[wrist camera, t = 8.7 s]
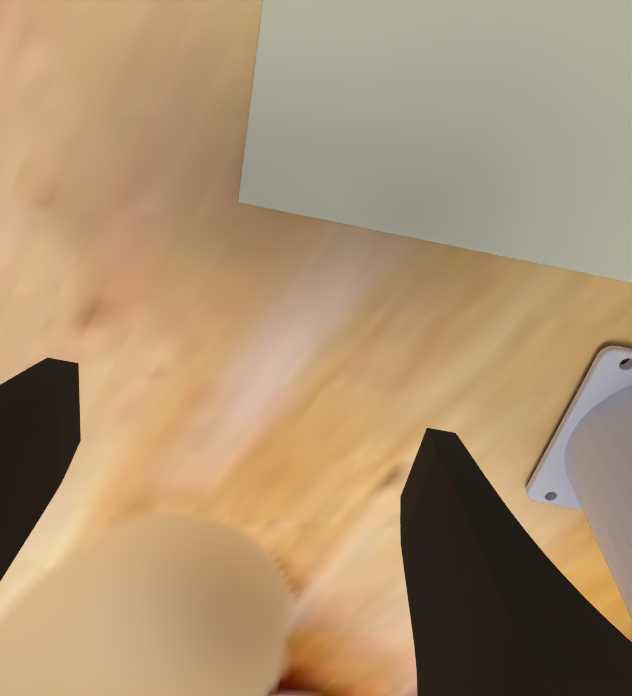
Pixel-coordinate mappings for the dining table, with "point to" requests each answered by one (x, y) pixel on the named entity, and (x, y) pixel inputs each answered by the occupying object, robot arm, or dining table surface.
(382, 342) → the dining table surface
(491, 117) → the felt mat
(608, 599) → the dining table surface
